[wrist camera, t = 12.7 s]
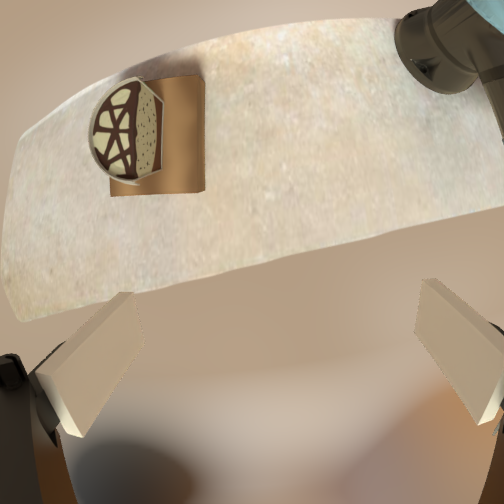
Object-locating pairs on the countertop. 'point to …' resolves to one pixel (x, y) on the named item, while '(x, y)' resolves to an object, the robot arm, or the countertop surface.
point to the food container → (128, 131)
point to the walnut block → (176, 140)
